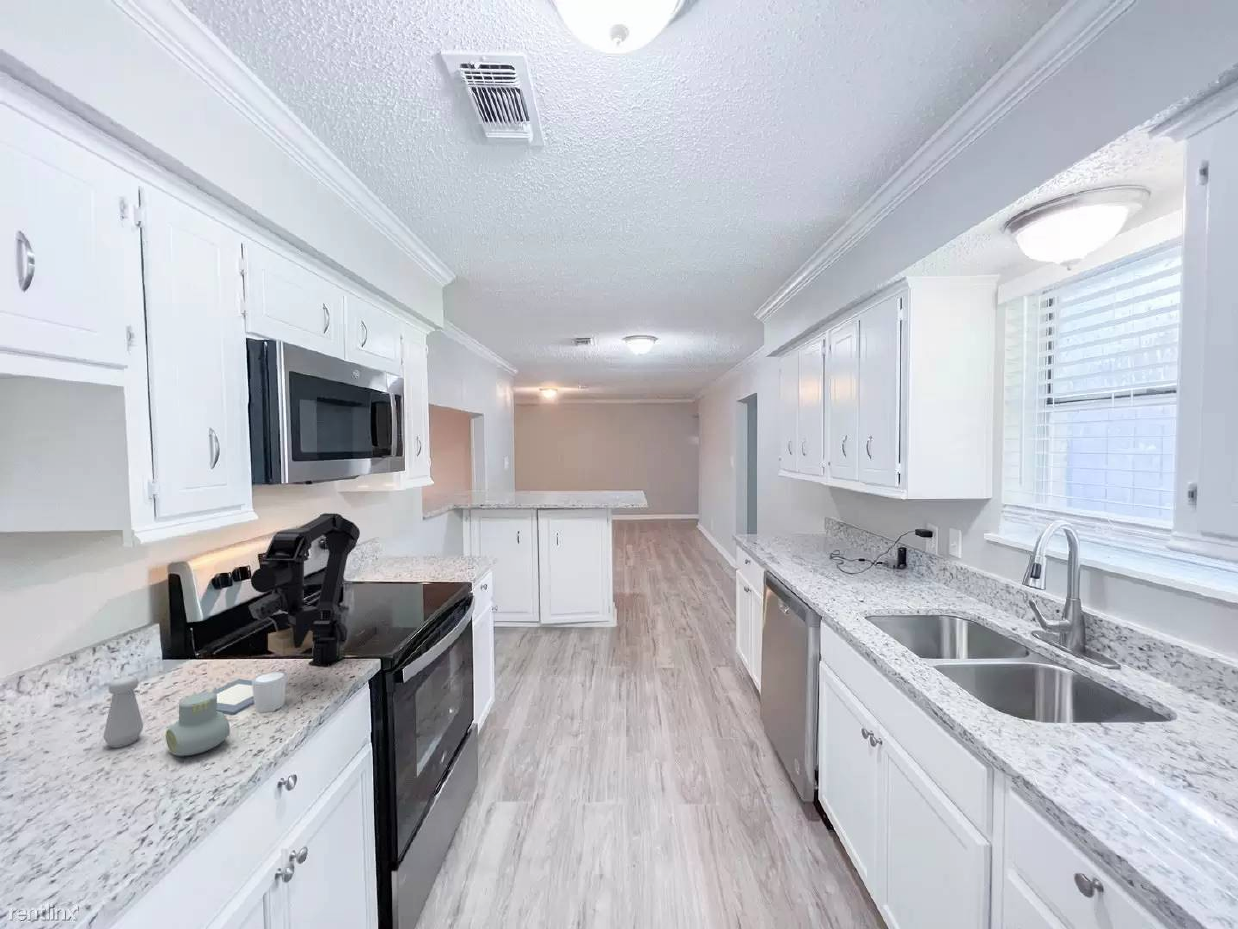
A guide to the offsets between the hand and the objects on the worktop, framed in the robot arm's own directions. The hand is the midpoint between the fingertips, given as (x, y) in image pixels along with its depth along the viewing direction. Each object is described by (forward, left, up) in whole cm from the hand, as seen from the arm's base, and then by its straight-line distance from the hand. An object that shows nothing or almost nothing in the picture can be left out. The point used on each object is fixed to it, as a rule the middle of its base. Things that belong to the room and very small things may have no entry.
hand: (290, 644), depth 129 cm
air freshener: (+26, +3, -11) cm, 28 cm away
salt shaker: (+28, -13, -11) cm, 32 cm away
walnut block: (0, 0, -1) cm, 1 cm away
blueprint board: (+7, -9, -11) cm, 16 cm away
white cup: (+9, +3, -11) cm, 15 cm away
